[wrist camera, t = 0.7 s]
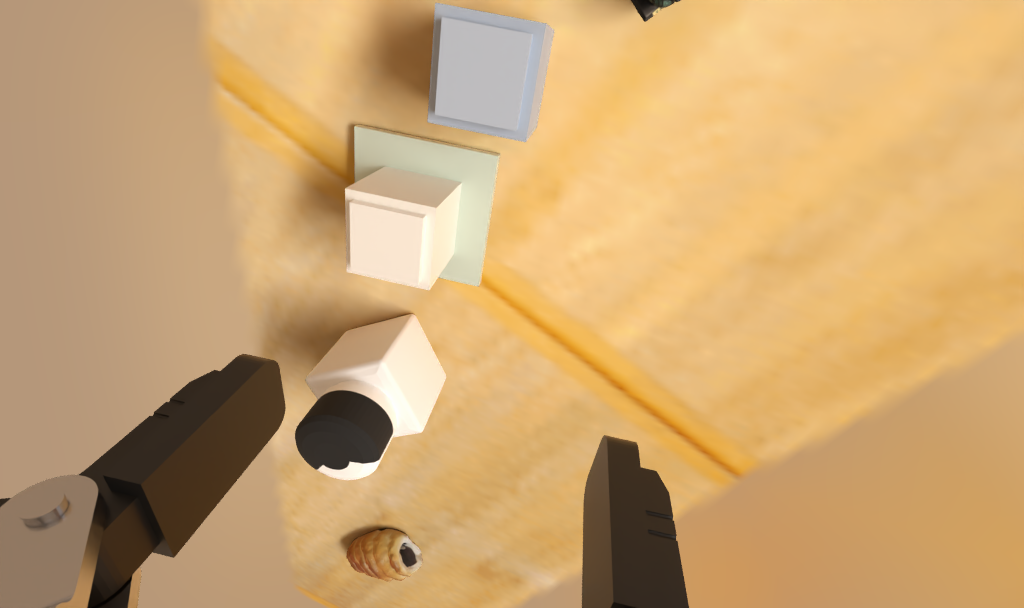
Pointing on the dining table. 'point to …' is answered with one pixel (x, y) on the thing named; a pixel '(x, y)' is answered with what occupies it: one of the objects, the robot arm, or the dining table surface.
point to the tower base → (442, 166)
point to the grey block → (487, 72)
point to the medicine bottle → (369, 396)
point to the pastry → (385, 555)
